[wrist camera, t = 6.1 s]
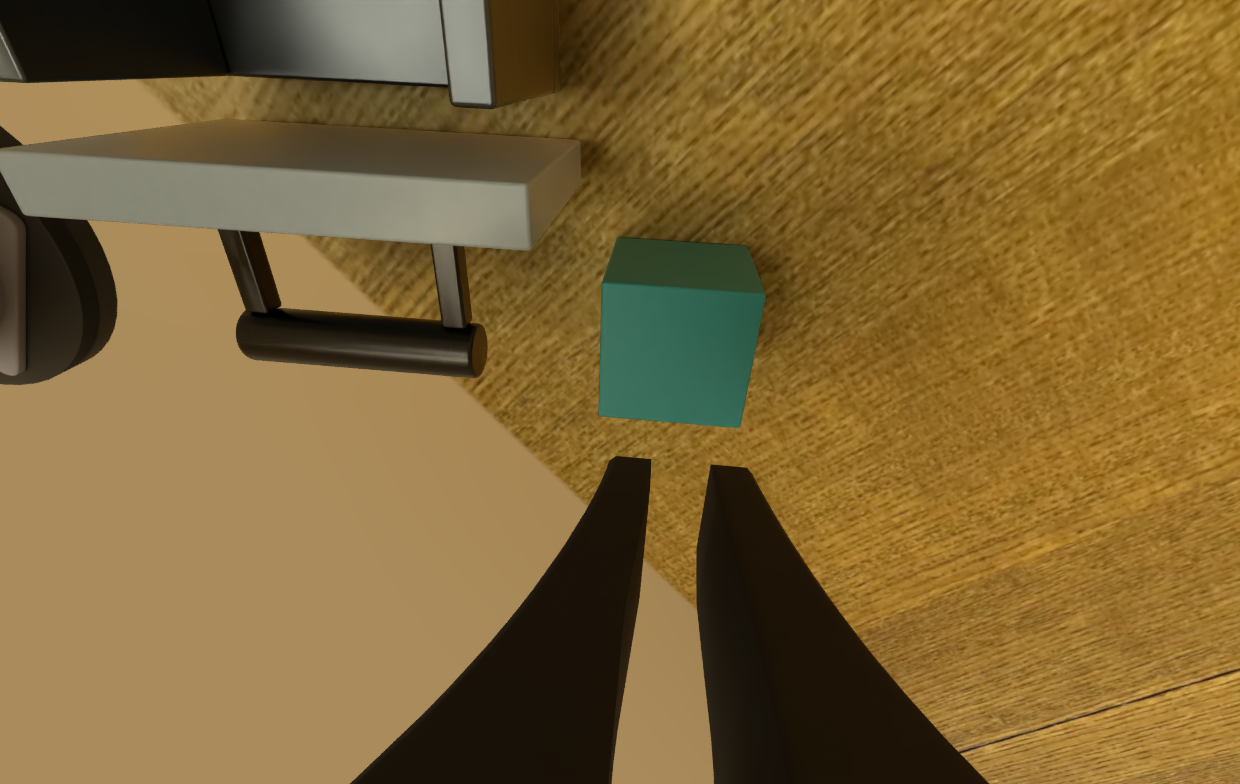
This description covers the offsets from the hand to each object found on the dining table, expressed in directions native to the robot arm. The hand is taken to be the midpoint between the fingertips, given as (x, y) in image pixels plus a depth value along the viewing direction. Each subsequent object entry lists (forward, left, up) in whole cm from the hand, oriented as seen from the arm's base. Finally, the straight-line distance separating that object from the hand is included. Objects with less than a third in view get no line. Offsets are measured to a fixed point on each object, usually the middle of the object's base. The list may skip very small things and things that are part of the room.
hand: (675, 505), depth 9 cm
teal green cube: (0, 0, -9) cm, 9 cm away
